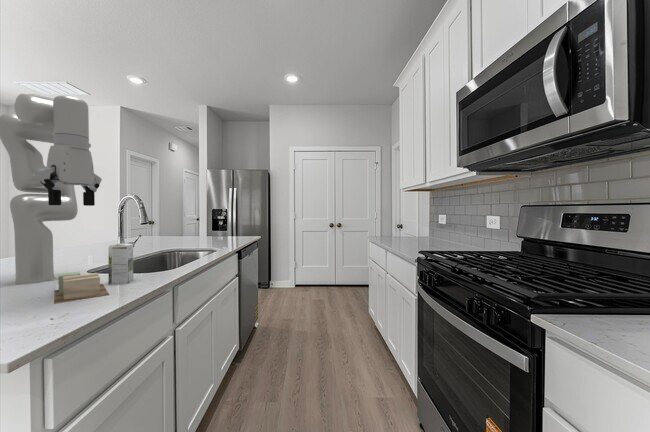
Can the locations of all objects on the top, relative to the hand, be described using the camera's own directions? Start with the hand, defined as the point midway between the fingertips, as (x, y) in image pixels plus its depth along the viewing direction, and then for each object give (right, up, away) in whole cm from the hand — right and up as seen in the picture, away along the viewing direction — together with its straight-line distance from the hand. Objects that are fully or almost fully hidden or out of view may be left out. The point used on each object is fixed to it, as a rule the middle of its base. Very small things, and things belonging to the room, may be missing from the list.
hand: (72, 205), depth 84 cm
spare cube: (-8, -26, +9) cm, 28 cm away
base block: (-1, -26, +4) cm, 26 cm away
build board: (-2, -27, +6) cm, 28 cm away
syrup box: (+1, -27, +19) cm, 33 cm away
